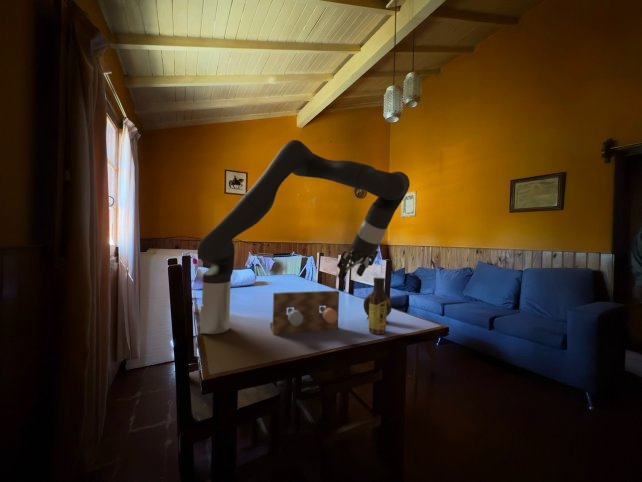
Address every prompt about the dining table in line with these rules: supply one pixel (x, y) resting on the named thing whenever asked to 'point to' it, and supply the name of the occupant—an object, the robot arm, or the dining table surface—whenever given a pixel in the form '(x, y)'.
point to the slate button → (295, 317)
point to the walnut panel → (303, 311)
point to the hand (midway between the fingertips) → (349, 276)
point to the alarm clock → (367, 303)
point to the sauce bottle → (378, 307)
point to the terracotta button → (329, 314)
